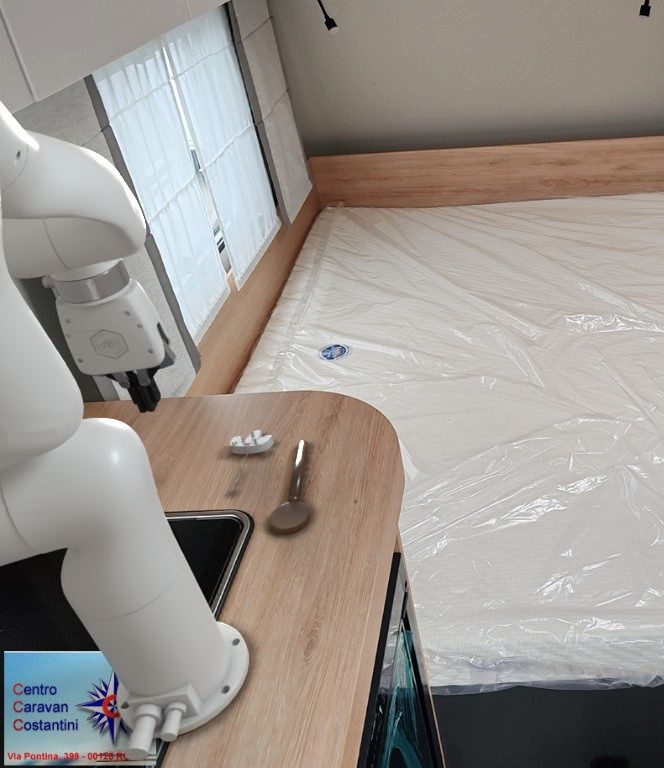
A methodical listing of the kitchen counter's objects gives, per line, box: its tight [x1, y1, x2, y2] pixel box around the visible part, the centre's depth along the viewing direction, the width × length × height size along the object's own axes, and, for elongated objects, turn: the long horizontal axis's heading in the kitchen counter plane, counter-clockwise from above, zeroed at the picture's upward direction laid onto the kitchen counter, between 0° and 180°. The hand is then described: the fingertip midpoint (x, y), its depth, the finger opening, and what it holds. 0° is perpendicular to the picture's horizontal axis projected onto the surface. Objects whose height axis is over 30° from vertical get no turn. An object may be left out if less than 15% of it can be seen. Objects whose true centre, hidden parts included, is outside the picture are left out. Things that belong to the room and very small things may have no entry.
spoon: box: [270, 439, 312, 535], centre depth 98 cm, size 17×5×1 cm, turn 7°
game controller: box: [229, 429, 275, 495], centre depth 103 cm, size 6×12×3 cm, turn 16°
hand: (150, 405), depth 98 cm, fingers closed
